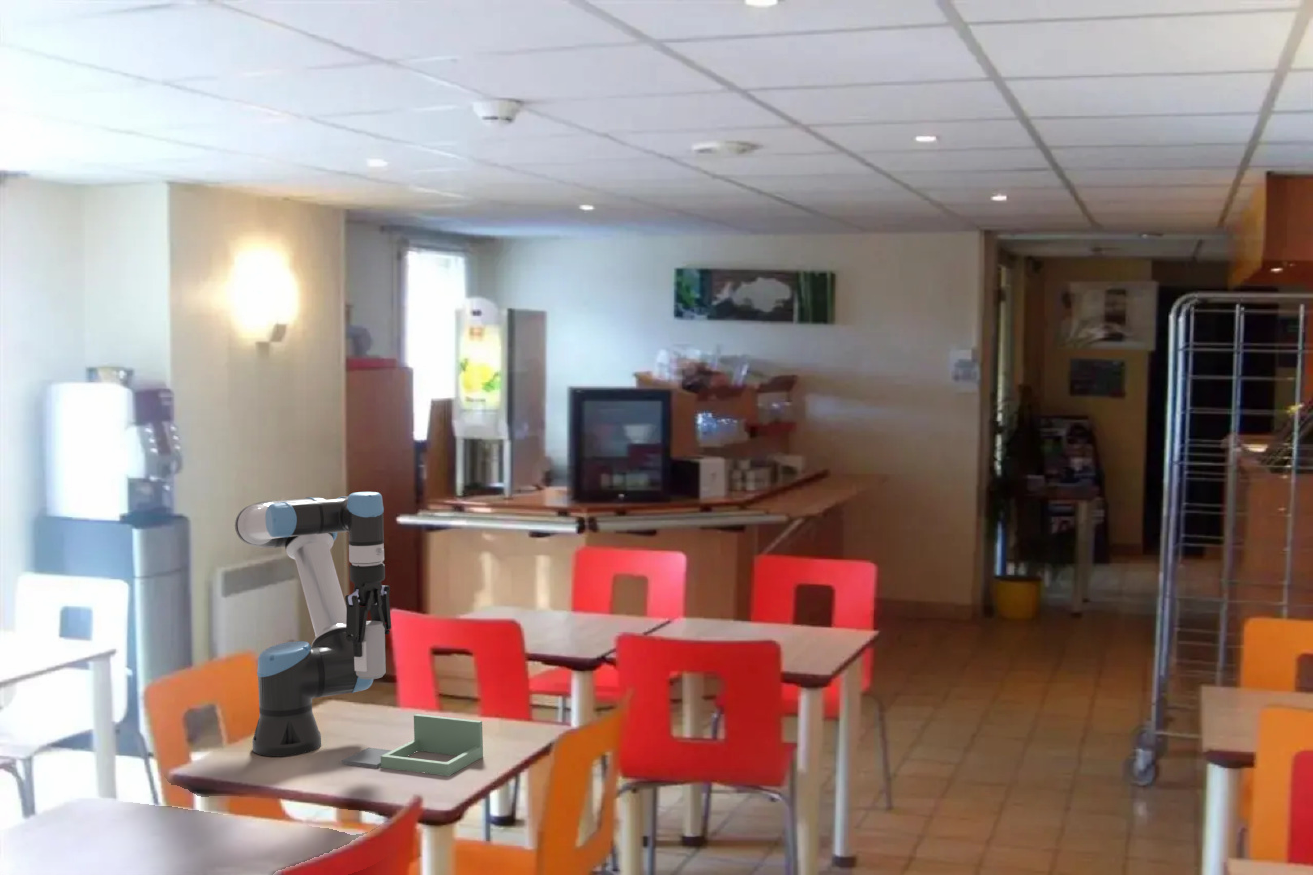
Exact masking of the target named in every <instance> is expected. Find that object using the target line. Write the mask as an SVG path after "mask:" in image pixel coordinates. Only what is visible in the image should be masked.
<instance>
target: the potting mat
mask: <svg viewBox="0 0 1313 875" xmlns="http://www.w3.org/2000/svg"><path fill="white" fill-rule="evenodd" d="M392 750H393V749H385V748H384V749H383V748H375V747H367V748H364V749H363V750H361V751H359V752H357V753H355V754H352V755H350V756H348V757H346V758H343V759H342V760H341V763H342V764H341V765H348V766H355V767H364V768H371V769H372V768H373V769H378V768H381V756H382V755H384V754H386V753H388V752H390V751H392Z"/></svg>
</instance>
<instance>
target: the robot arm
mask: <svg viewBox="0 0 1313 875" xmlns="http://www.w3.org/2000/svg"><path fill="white" fill-rule="evenodd" d="M383 502H384V501H383V496H382V494H381V493H380V492H378V491H377V492H376V491H358V492H352V493H350V494H348V496H344V495H343V496H339V497H337V498H331V499H326V498H323V497H312V496H307V497H304V498H294V499H293V498H292V499H280V500H279V499H278V500H277V499H276V500H263V501H258V502H255V503H253V504H250V505H248V506H245V507H244V508H243V509H242V510H240V512H239V513H238V514H237V516H236V517H235V520H234V529H235V532H236V536H238V538H239V540H241V541H242V542H243V543H245V544H247V545H249V546H252V547H254V548H255V547H256V548H261V549H272V548H273V549H274V548H285V552H286V554H287V556H288V557H289V558H290V559H292V560H294V561H295V564H296V568H297V572H298V575H299V579H300V583H301V587H302V591H303V594H304V598H305V601H306V606H307V609H308V613H309V616H310V620H311V624H312V627H313V631H314V635H315V638H314V639H313V640H312V642H311V645H310V643H309V641H305V640H304V641H303V640H298V641H287V642H283V643H278V644H276V645H272V646H270V647H268V648H265V649H264V650H263V651H261V652H260V654H259V655H258V658H257V659H258V660H257V672H256V674H257V685H258V686H257V688H258V706H259V707H258V709H259V714H258V716H259V717H258V720H257V723H256V727H255V730H254V734H253V738H252V752H253V753H254V754H257V755H259V756H265V757H266V756H267V757H287V756H289V757H291V756H296V755H302V754H305V753H309V752H312V751H314V750H317V749H318V748H320V747H321V745H322V733H321V731H320V730H319V727H318V724H317V721H316V717H315V715H314V713H313V699H315V698H316V699H317V698H324V697H330V696H337V695H344V694H349V693H350V694H355V693H357V692H362V691H365V690H367V689H369V688H371V687H372V685H373V682H374V680H375V679H361V678H359V676H357V675H356V671H362V672H366V671H367V651H366V641H363V640H364V634H365V628H366V621H368V620H367V619H368V614H370V618H371V621H381V622H383V624H382V625H383V626H384V628H385V635H389V634H390V632H391V631H390V630H391V629H392V621H391V620H392V618H391V605H390V592H391V591H390V590H391V586H390V585H383V584H382V581H384V580H385V578H386V568H385V567H386V566H385V564H384V561H385V548H384V546H385V545H384V543H385V536H384V535H385V533H384V527H385V526H384V524H385V523H384V513H385V512H384V510H385V508H384V503H383ZM346 532H348V562H349V563H351V564H350V565H349V581H350V582H351V583H353V585H354V587H353V590H352V593H351V594H346V595H345V597H344V595H343V594H344V593H343V592H342V587H341V585H340V582H339V581H340V580H339V577H338V574H337V570H336V567H335V564H334V560H333V556H332V553H331V549H332V547H333V546H334V544H335V543H334V542H335V541H336V540H337V536H338V533H346ZM368 612H369V613H368Z"/></svg>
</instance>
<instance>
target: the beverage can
mask: <svg viewBox="0 0 1313 875" xmlns="http://www.w3.org/2000/svg"><path fill="white" fill-rule="evenodd" d="M382 624H383V622H381V621H372V620H367V621H366V628H365V634H364V640H363V641H366V651H367V671H366V672H362V671H356V675H357V676H359V678H361V679H374V680H376V679H380V678H383V676H384V675H385V674H386V671H387V670H386V669H387V668H386V667H387V666H386V634H385V628H384V626H383V625H382Z"/></svg>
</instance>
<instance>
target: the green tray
mask: <svg viewBox="0 0 1313 875" xmlns="http://www.w3.org/2000/svg"><path fill="white" fill-rule="evenodd" d="M413 736H414V737H413V738H414V739H412V740H411V741H409V742H406V743H404V744H402V745H400V746H399V747H396V748H394V749H391V750H392V751H390V752H388V753H386V754H384V755H382V756H381V766H380V768H383V769H390V770H398V769H399V770H398V771H405V770H407V772H412V771H415V772H414V773H420V772H425V773H424V774H428V773H430V774H429V775H437V776H445V777H449V776H452V775H453V774H455V773H456V772H458V771H460V770H462V769H464V768H466V767H467V766H469V765H471V764H472V763H474V762H476V761H478V760H480V759H481V758H484V746H483V744H484V740H483V736H484V735H483V721H482V720H474V719H468V718H467V719H466V718H457V717H446V716H438V715H428V714H420V713H418V714H417V713H416V714H414V715H413ZM416 751H418V752H424V751H428V752H427V753H433V752H434V754H442V755H450V756H455V757H453V758H451V759H450V760H448V761H439V760H430V759H423V758H415V757H409V756H408V755H410V756H412V755H414V754H415V753H414V752H416ZM413 753H414V754H413ZM416 753H417V752H416ZM411 754H412V755H411ZM407 756H408V757H407Z"/></svg>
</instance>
